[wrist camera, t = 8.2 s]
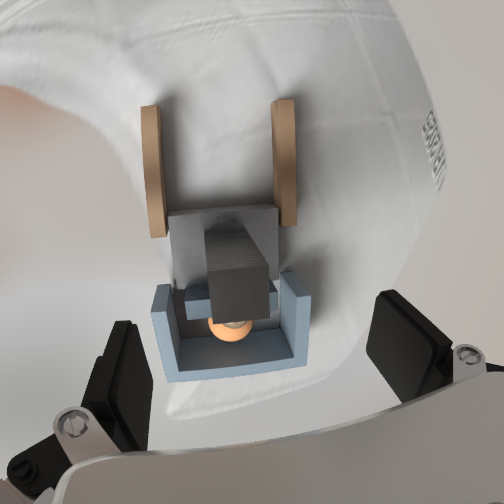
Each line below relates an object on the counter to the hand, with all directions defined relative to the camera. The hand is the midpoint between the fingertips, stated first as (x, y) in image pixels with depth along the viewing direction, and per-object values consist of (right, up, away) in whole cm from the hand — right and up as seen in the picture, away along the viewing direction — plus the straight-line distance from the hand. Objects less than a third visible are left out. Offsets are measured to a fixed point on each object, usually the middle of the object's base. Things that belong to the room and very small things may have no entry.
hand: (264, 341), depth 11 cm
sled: (-3, +3, +15) cm, 15 cm away
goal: (-3, -2, +17) cm, 17 cm away
